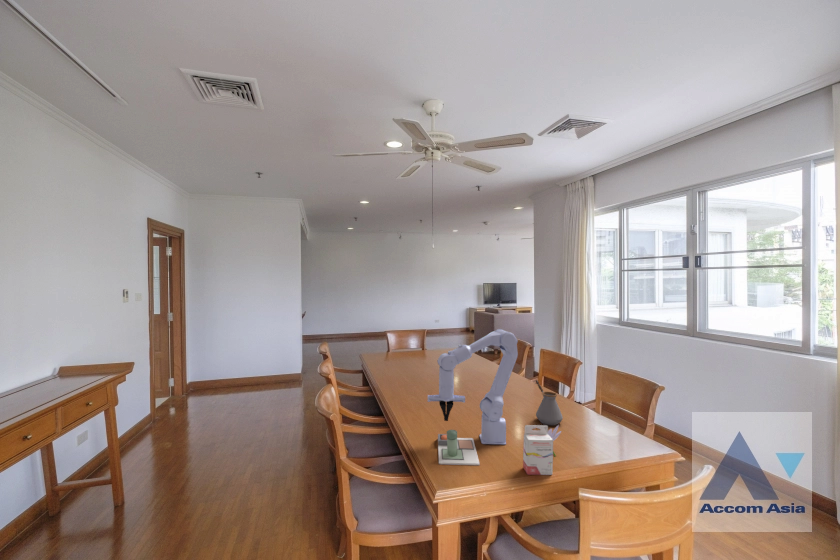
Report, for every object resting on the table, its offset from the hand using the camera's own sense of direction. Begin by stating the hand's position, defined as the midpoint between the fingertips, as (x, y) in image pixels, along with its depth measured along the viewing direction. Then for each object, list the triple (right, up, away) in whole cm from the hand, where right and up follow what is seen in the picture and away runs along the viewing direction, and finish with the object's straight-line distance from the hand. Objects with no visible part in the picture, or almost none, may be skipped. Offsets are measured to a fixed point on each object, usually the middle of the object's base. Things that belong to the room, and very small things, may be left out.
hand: (446, 420), depth 142 cm
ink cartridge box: (+29, -10, -20) cm, 37 cm away
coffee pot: (+48, -10, +28) cm, 56 cm away
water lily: (+37, -10, -5) cm, 38 cm away
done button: (0, -8, 0) cm, 8 cm away
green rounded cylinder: (+2, -8, -10) cm, 13 cm away
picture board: (+4, -9, -6) cm, 12 cm away
